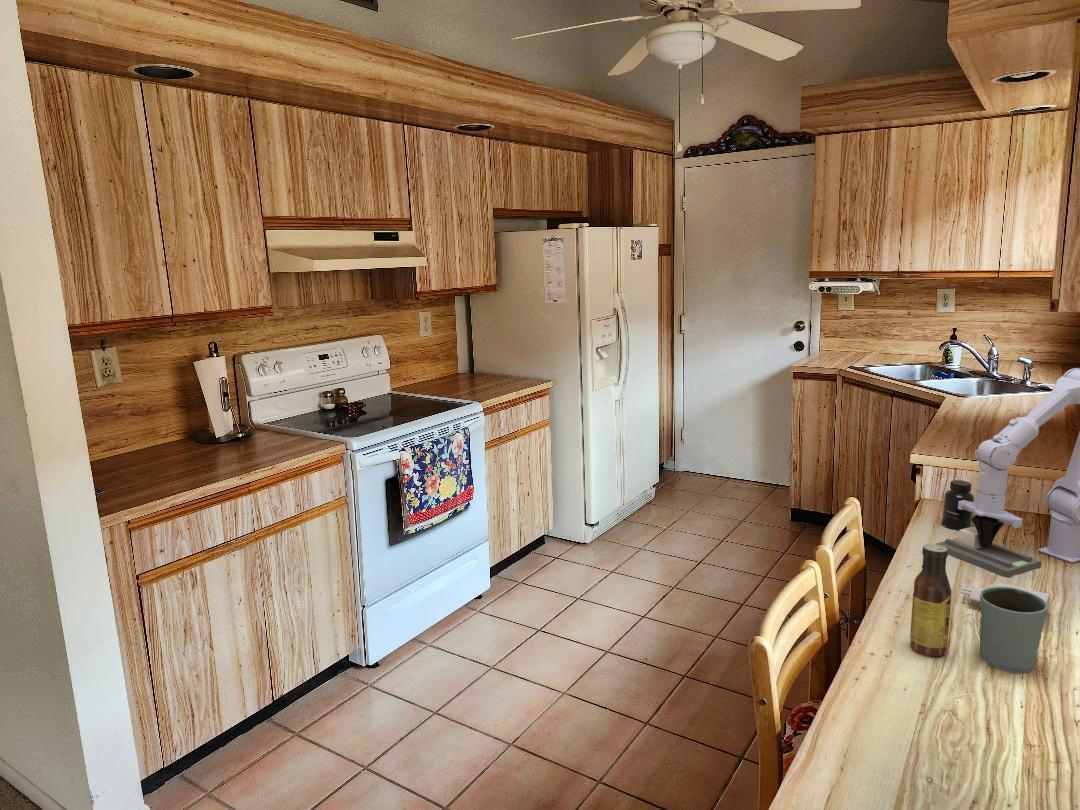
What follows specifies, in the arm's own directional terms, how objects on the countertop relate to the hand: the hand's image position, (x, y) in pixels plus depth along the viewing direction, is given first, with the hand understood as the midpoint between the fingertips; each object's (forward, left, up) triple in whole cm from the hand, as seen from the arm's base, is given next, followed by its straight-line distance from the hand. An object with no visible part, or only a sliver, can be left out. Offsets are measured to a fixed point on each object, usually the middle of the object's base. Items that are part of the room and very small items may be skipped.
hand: (985, 546), depth 178 cm
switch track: (0, +1, -3) cm, 3 cm away
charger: (+21, +19, -3) cm, 29 cm away
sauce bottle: (+47, +23, -3) cm, 52 cm away
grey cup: (+38, +32, -3) cm, 49 cm away
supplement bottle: (-12, -16, -3) cm, 21 cm away
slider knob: (0, -3, -1) cm, 4 cm away
